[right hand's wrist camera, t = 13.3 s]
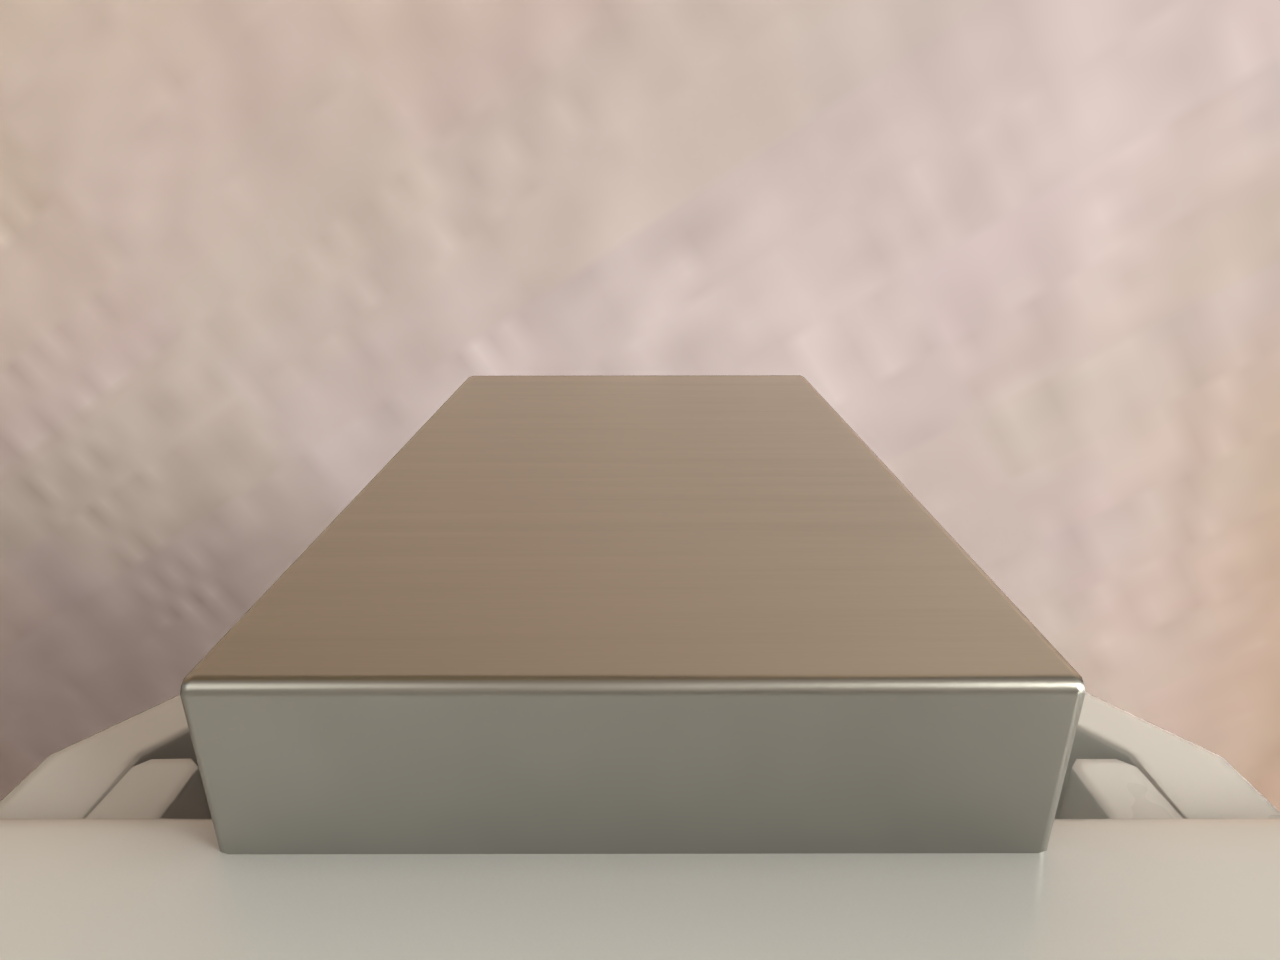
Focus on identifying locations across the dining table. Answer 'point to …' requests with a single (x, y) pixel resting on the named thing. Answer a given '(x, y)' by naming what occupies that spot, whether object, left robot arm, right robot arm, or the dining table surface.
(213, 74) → the dining table surface
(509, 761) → the bar
